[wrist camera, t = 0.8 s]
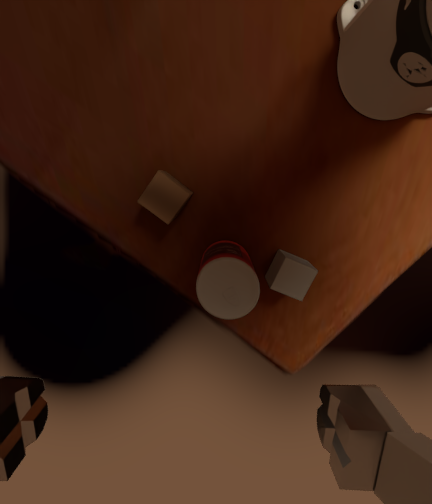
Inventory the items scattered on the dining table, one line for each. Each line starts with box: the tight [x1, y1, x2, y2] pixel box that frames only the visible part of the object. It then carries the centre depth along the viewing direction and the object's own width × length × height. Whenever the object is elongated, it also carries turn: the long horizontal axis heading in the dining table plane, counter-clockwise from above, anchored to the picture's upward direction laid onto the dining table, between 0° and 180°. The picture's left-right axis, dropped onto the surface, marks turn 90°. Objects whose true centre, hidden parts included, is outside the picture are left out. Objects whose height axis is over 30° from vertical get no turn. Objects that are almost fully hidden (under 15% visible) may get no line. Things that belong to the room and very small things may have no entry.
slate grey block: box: [265, 249, 318, 301], centre depth 42 cm, size 5×5×5 cm
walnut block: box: [137, 170, 193, 224], centre depth 39 cm, size 5×5×5 cm
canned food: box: [196, 240, 260, 319], centre depth 39 cm, size 8×8×11 cm
